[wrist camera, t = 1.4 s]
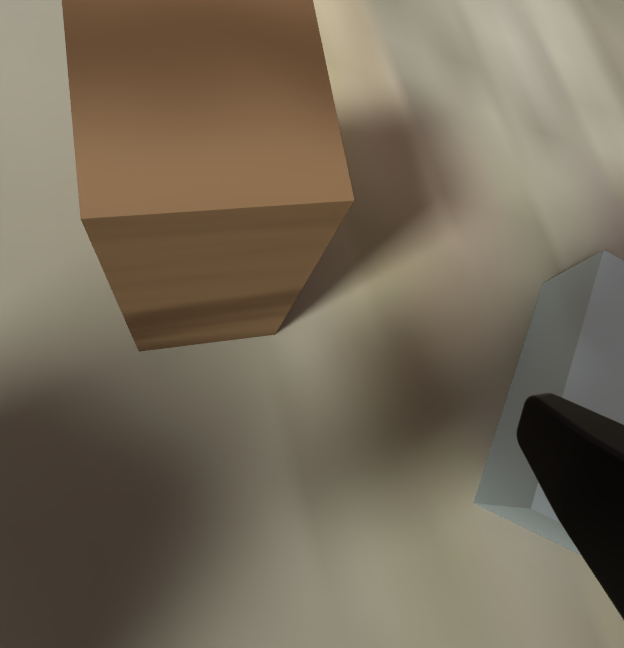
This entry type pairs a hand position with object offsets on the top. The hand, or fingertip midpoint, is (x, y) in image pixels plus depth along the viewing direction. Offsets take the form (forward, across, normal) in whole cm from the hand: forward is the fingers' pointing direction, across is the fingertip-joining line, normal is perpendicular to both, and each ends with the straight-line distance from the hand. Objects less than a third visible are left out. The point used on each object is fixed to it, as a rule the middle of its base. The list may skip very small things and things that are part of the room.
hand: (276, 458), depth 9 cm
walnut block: (+15, 0, +4) cm, 15 cm away
